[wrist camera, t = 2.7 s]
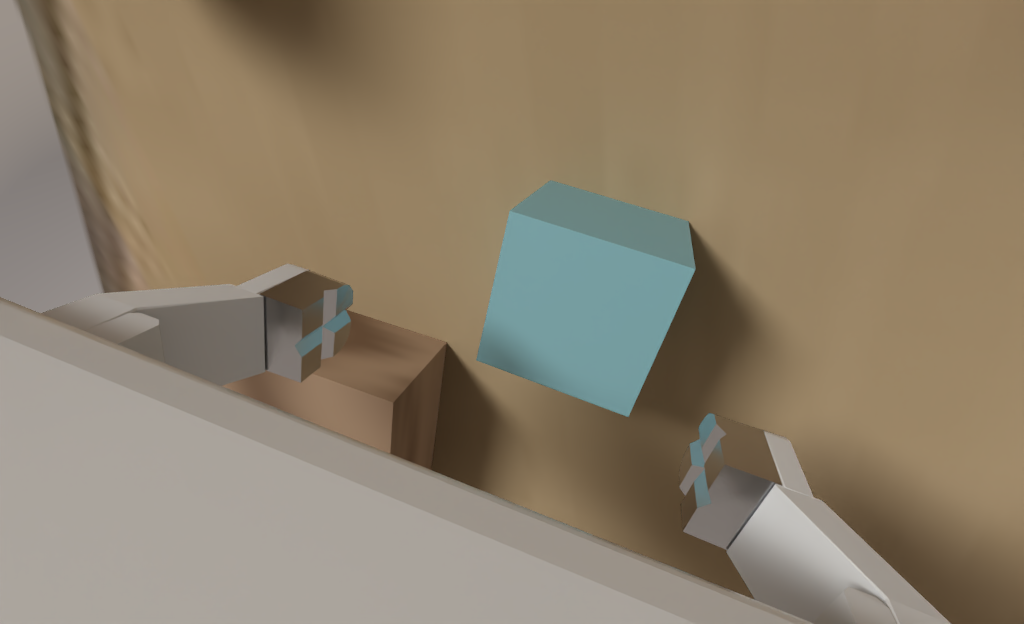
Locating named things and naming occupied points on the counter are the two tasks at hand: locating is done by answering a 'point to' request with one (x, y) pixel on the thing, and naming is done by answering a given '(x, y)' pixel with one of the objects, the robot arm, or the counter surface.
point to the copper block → (368, 389)
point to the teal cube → (585, 293)
